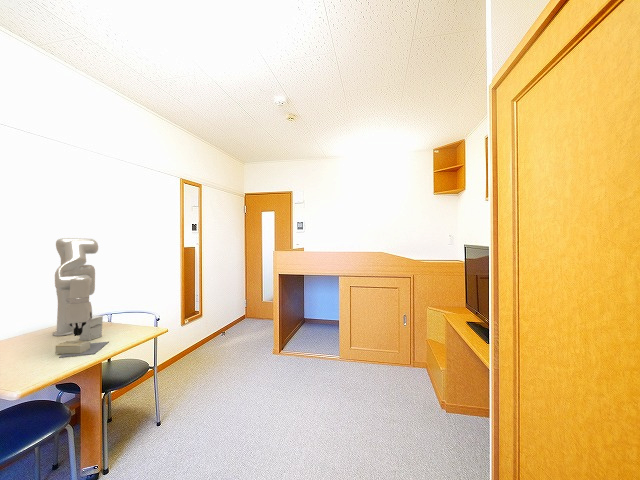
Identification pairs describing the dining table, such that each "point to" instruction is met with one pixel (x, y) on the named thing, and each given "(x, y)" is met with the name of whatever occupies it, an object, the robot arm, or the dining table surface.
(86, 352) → the mat
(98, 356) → the dining table surface
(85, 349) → the skincare box
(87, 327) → the supplement box
